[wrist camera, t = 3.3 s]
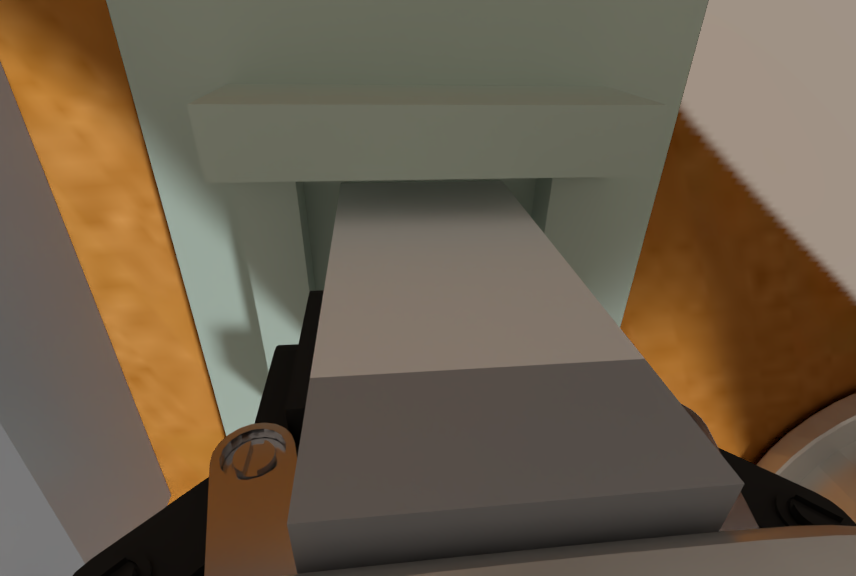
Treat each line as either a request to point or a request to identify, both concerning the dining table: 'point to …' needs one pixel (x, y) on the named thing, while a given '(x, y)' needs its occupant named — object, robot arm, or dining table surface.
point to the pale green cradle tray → (391, 136)
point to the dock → (58, 388)
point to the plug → (480, 396)
